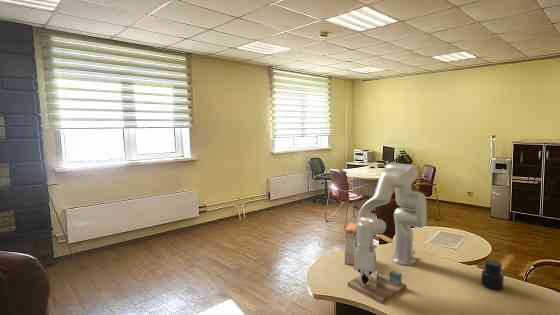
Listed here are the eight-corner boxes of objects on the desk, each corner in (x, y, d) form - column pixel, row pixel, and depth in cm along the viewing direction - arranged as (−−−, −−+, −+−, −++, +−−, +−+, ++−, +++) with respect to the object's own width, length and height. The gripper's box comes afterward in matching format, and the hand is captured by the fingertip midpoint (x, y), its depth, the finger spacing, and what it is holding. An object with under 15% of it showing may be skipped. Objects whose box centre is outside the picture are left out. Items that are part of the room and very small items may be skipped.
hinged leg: (371, 274, 163) (371, 266, 162) (377, 275, 162) (377, 267, 161) (368, 289, 148) (368, 281, 148) (375, 290, 147) (376, 282, 147)
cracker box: (354, 265, 178) (354, 230, 175) (344, 264, 180) (344, 229, 178) (359, 256, 190) (359, 222, 188) (349, 254, 193) (349, 221, 190)
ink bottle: (500, 283, 155) (501, 260, 154) (507, 292, 147) (508, 268, 145) (478, 280, 158) (479, 257, 157) (483, 289, 150) (484, 265, 149)
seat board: (372, 273, 168) (372, 261, 167) (406, 288, 152) (406, 275, 151) (347, 286, 156) (347, 272, 155) (382, 303, 140) (382, 289, 139)
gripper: (382, 246, 151) (381, 281, 153) (351, 242, 157) (351, 276, 159) (380, 252, 145) (380, 289, 147) (348, 247, 150) (348, 283, 152)
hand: (364, 282), depth 153 cm, fingers closed
